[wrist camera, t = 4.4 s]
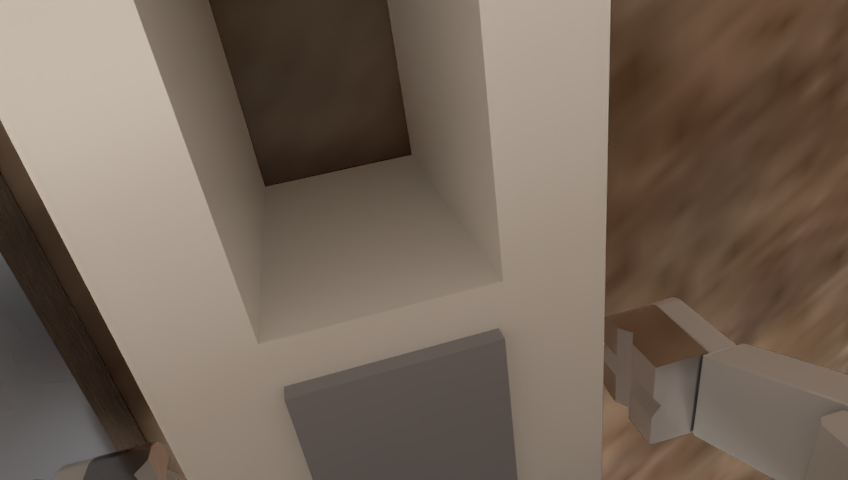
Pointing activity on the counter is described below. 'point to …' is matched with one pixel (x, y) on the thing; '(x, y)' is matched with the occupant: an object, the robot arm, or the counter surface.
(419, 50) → the power strip
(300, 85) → the counter surface
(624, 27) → the counter surface
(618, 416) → the counter surface
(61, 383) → the mounting plate
